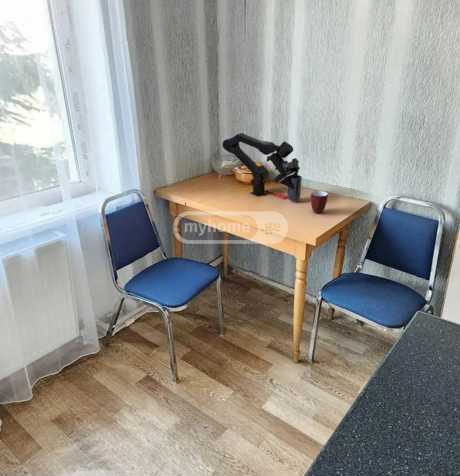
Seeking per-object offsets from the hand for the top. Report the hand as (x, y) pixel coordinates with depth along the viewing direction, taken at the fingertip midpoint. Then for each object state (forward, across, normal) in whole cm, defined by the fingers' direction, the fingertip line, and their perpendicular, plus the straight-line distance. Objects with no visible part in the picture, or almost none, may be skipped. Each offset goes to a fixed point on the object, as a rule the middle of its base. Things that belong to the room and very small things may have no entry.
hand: (296, 187), depth 208 cm
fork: (-4, +4, +16) cm, 17 cm away
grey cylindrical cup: (+4, 0, +6) cm, 7 cm away
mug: (+17, -8, -6) cm, 20 cm away
